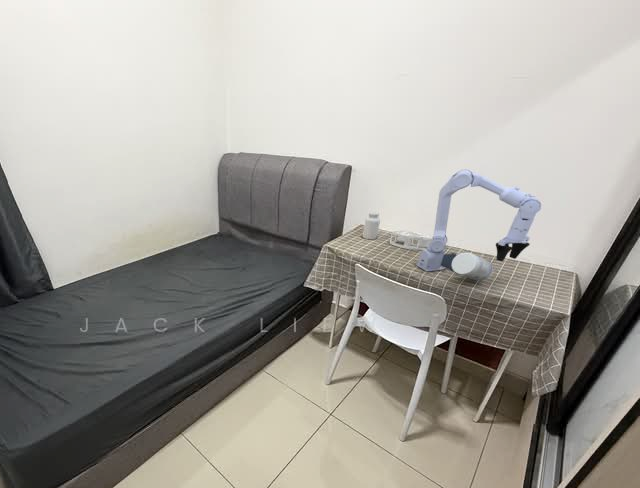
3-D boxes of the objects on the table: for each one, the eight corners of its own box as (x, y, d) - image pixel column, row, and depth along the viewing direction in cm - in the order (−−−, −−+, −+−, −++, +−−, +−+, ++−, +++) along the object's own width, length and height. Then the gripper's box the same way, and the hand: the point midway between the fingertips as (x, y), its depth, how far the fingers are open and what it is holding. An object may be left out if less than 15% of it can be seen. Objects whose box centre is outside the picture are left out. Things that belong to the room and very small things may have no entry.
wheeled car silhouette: (432, 248, 165) (436, 235, 161) (424, 254, 158) (428, 240, 155) (396, 239, 178) (399, 227, 175) (387, 244, 172) (390, 231, 168)
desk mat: (457, 273, 138) (457, 273, 138) (426, 256, 156) (426, 256, 156) (487, 270, 141) (487, 269, 141) (453, 253, 158) (453, 253, 158)
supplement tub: (468, 281, 135) (449, 275, 128) (468, 260, 136) (450, 254, 129) (494, 279, 126) (476, 273, 120) (494, 258, 128) (476, 250, 121)
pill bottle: (363, 239, 179) (368, 214, 172) (361, 234, 186) (365, 210, 179) (377, 240, 178) (383, 215, 171) (374, 235, 185) (379, 211, 177)
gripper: (517, 233, 115) (503, 265, 121) (543, 229, 119) (528, 260, 125) (498, 227, 121) (486, 258, 127) (524, 223, 125) (510, 254, 131)
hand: (505, 259), depth 127 cm, fingers open, 7 cm apart
